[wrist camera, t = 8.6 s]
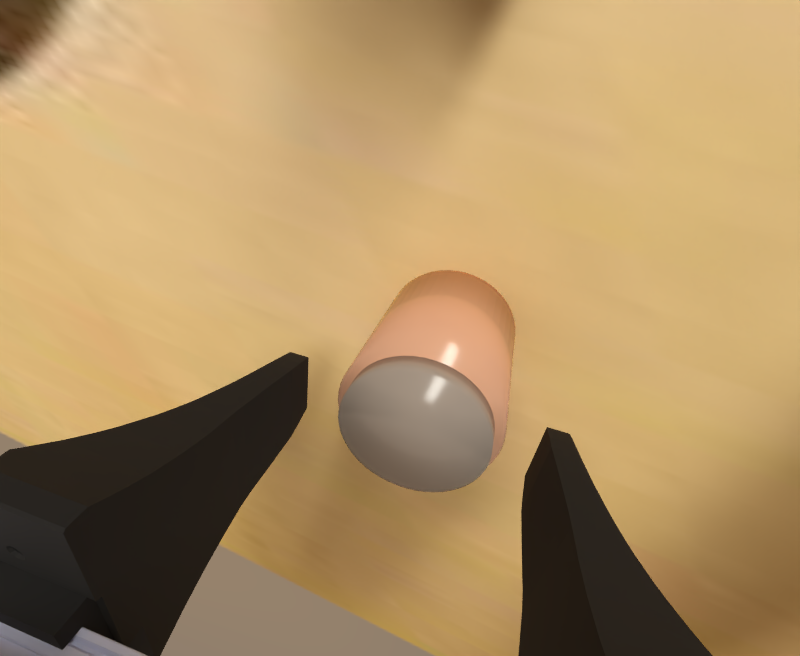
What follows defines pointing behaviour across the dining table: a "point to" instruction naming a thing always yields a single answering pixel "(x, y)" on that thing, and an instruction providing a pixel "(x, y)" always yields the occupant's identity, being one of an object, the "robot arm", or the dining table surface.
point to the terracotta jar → (432, 384)
